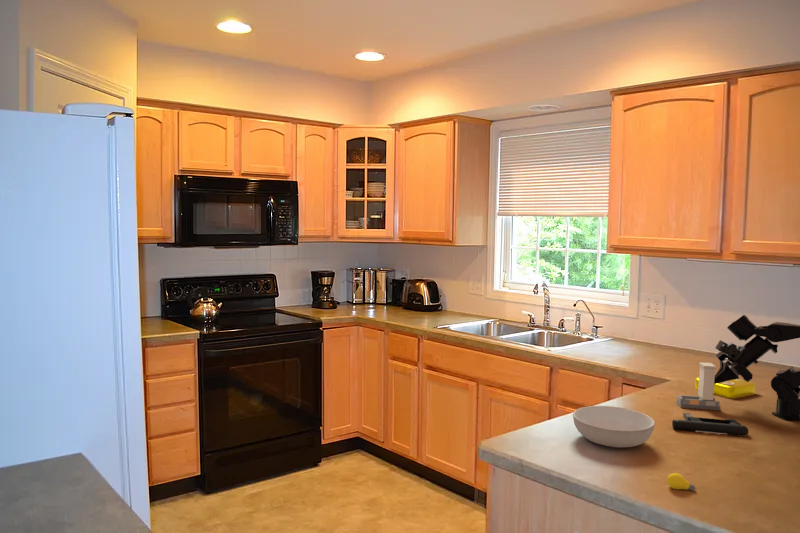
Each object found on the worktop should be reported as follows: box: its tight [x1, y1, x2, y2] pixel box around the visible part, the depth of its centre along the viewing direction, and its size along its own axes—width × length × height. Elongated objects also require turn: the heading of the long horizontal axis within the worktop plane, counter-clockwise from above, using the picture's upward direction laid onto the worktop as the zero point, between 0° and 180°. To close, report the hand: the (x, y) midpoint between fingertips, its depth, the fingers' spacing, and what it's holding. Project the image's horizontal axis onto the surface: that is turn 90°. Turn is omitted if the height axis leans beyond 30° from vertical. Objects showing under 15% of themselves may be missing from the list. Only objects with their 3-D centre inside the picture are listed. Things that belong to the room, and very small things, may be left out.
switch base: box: [676, 394, 721, 411], centre depth 202 cm, size 12×5×3 cm, turn 80°
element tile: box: [694, 376, 756, 399], centre depth 223 cm, size 15×15×5 cm
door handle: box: [671, 412, 749, 437], centre depth 183 cm, size 3×20×16 cm
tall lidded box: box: [697, 362, 717, 401], centre depth 202 cm, size 4×5×13 cm
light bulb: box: [667, 472, 697, 492], centre depth 139 cm, size 3×6×4 cm, turn 74°
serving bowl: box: [572, 405, 656, 448], centre depth 168 cm, size 21×21×7 cm
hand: (712, 382), depth 202 cm, fingers closed, pressing on tall lidded box
